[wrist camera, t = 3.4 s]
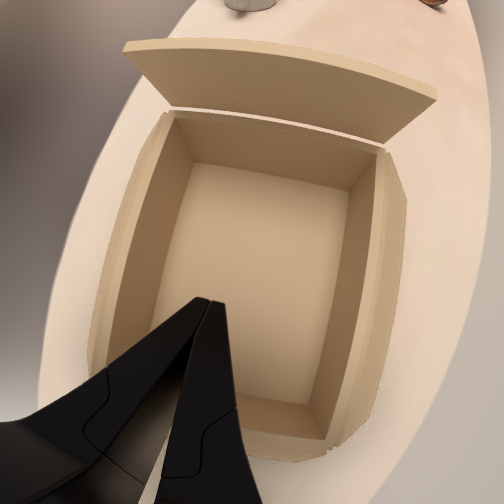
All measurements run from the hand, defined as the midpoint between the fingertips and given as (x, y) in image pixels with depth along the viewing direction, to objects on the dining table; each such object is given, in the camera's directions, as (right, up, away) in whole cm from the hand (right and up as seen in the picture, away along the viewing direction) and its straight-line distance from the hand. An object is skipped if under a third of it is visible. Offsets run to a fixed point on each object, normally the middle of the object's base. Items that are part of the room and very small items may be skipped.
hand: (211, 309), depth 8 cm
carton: (0, -3, +13) cm, 14 cm away
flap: (+2, +10, +4) cm, 11 cm away
